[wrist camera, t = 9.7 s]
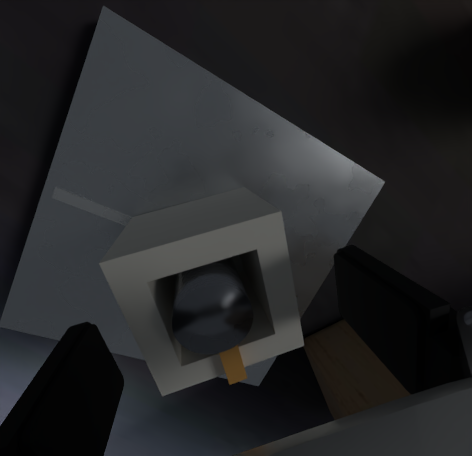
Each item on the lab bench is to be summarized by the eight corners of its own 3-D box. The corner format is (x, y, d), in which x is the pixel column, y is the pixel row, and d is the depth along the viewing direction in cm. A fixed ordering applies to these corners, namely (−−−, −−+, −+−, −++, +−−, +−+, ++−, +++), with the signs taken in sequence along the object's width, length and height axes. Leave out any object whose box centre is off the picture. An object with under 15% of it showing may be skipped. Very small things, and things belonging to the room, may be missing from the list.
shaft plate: (372, 179, 18) (510, 203, 10) (254, 373, 21) (291, 498, 14) (110, 18, 12) (-10, -185, 5) (11, 313, 16) (-148, 464, 8)
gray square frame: (244, 186, 15) (286, 214, 9) (264, 281, 17) (309, 355, 11) (132, 216, 14) (93, 270, 8) (169, 311, 16) (162, 409, 10)
